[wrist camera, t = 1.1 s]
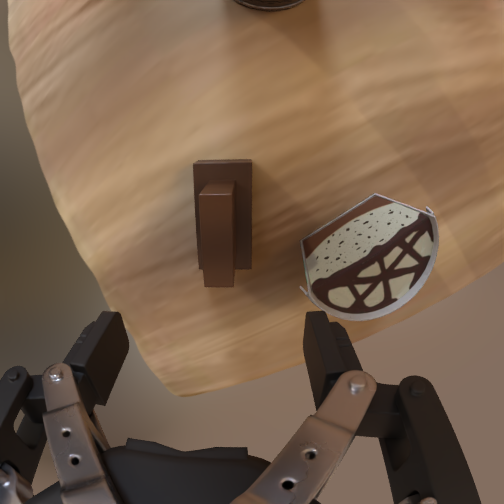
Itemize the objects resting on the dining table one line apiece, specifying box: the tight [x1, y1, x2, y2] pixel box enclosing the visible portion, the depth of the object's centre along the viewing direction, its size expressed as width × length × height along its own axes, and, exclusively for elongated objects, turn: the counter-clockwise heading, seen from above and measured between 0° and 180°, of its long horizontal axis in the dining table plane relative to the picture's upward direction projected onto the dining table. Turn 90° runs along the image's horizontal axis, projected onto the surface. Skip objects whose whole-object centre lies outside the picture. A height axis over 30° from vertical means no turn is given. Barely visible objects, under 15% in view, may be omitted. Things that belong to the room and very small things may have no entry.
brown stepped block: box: [193, 159, 252, 287], centre depth 25 cm, size 10×5×9 cm, turn 0°
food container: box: [300, 193, 439, 321], centre depth 25 cm, size 12×6×10 cm, turn 124°
